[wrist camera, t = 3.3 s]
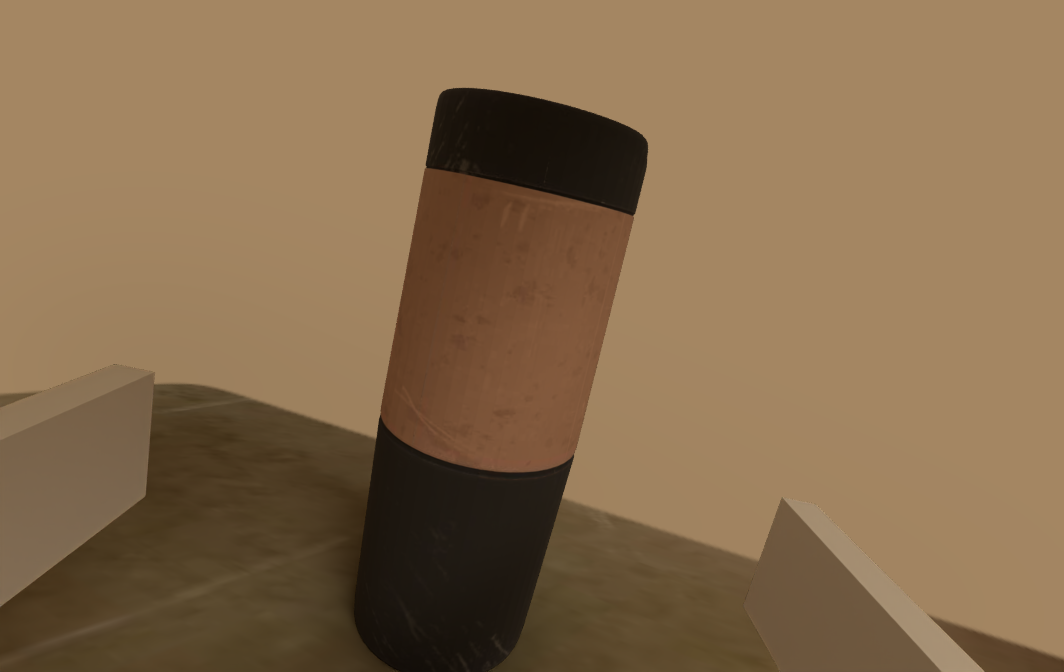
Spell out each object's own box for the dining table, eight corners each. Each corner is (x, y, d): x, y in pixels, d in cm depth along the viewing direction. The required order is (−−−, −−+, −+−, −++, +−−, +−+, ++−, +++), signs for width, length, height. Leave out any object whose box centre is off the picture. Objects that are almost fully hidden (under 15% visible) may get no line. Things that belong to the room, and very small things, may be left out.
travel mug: (323, 572, 24) (400, 91, 19) (474, 540, 28) (563, 146, 24) (386, 721, 18) (515, 77, 13) (563, 650, 22) (702, 154, 18)
